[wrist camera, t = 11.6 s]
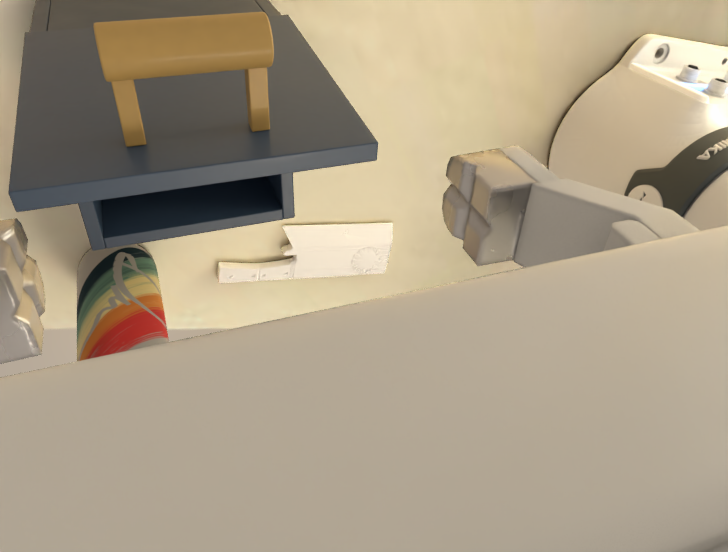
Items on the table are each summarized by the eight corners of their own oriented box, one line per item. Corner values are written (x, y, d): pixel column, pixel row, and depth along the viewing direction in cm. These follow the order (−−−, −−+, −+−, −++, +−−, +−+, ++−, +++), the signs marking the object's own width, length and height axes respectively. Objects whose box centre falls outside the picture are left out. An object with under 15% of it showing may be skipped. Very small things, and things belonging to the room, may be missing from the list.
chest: (268, 163, 46) (294, 217, 40) (90, 188, 42) (92, 251, 37) (255, -16, 38) (286, 19, 33) (36, -5, 35) (27, 37, 29)
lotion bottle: (157, 237, 47) (193, 446, 32) (155, 296, 50) (188, 510, 35) (75, 238, 44) (74, 463, 30) (78, 299, 47) (79, 530, 33)
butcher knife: (220, 225, 48) (223, 233, 47) (392, 222, 54) (397, 228, 53) (217, 278, 51) (219, 286, 50) (380, 269, 57) (385, 276, 56)
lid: (376, 160, 23) (388, 29, 20) (16, 212, 20) (-45, 63, 16) (288, 29, 33) (285, -76, 29) (29, 49, 29) (-8, -69, 26)
